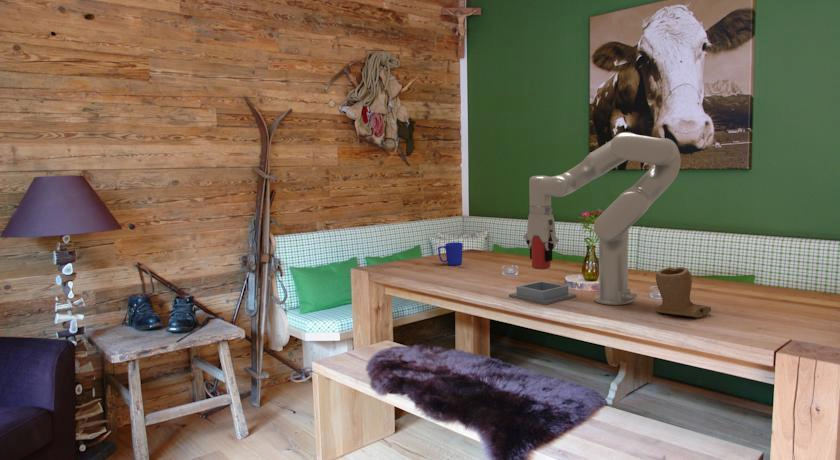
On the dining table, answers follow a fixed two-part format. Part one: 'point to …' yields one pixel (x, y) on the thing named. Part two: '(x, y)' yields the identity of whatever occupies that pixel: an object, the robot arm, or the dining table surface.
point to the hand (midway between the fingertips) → (541, 259)
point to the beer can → (539, 254)
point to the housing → (542, 292)
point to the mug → (452, 253)
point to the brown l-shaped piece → (678, 293)
